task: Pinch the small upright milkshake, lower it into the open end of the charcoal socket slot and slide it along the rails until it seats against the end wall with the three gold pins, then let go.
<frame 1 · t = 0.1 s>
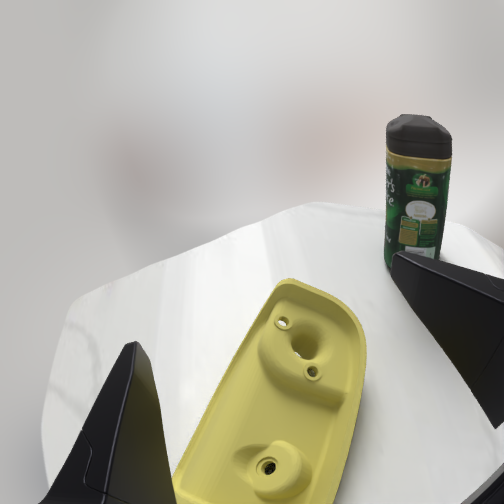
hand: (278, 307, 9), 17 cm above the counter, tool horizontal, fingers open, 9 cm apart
plastic component: (284, 424, 21), on the counter
coffee jar: (409, 257, 36), on the counter
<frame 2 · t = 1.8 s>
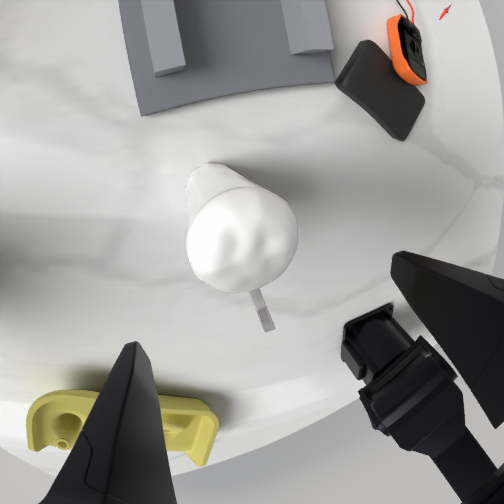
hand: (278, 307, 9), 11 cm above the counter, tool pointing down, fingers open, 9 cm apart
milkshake: (211, 192, 19), on the counter
header socket: (223, 6, 13), on the counter
plastic component: (121, 404, 27), on the counter
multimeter: (392, 25, 16), on the counter
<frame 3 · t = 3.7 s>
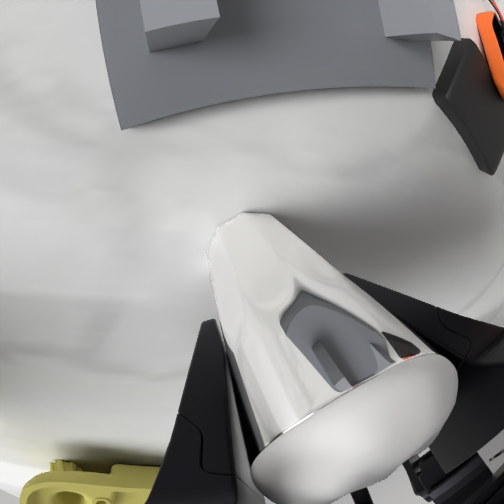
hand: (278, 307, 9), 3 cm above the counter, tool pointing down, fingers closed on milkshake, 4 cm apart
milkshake: (248, 257, 12), on the counter, touching gripper
plastic component: (127, 471, 19), on the counter
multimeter: (476, 21, 9), on the counter
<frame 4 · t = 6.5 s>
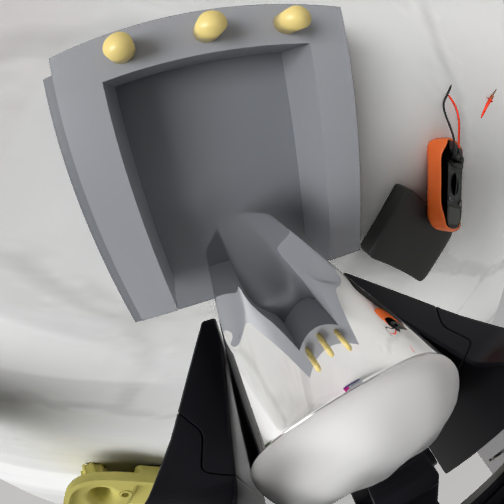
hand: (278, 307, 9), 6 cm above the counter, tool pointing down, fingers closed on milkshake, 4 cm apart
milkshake: (248, 256, 12), point 3 cm above the counter, touching gripper
header socket: (218, 166, 12), on the counter
plastic component: (141, 470, 26), on the counter
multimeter: (432, 140, 16), on the counter
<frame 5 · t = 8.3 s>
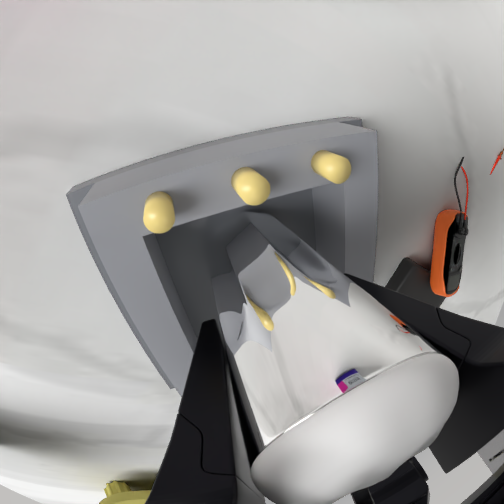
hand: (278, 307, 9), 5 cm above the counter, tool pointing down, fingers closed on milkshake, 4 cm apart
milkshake: (248, 256, 12), point 2 cm above the counter, touching gripper
header socket: (244, 266, 14), on the counter
plastic component: (160, 485, 27), on the counter
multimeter: (440, 208, 17), on the counter
when the fingers open (5 cm above the counter, at t = 8.9 s): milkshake stays where it is, resting on header socket.
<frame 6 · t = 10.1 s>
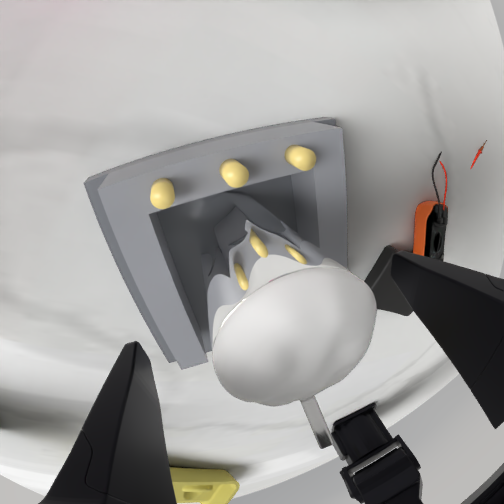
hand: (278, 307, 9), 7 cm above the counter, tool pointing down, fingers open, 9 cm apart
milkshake: (231, 229, 14), point 1 cm above the counter, touching header socket
header socket: (235, 248, 16), on the counter
plastic component: (161, 471, 29), on the counter
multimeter: (421, 200, 20), on the counter
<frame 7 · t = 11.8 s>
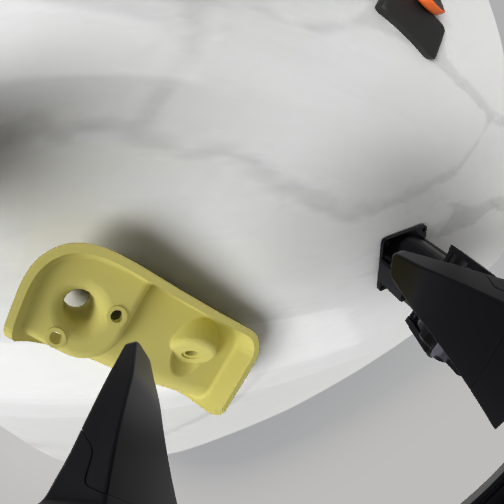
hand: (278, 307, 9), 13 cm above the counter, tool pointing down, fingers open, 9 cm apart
plastic component: (141, 312, 24), on the counter
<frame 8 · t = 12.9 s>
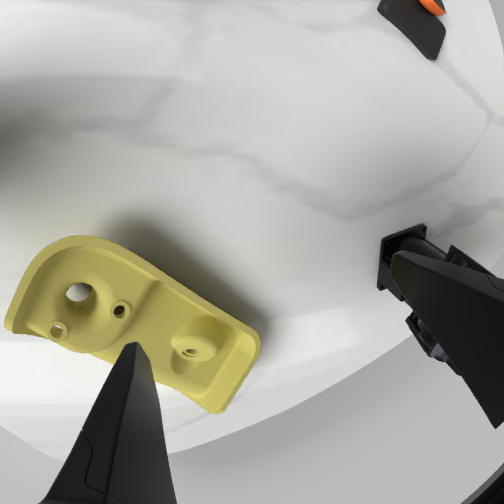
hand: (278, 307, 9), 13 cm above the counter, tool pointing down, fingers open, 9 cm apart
plastic component: (143, 309, 23), on the counter
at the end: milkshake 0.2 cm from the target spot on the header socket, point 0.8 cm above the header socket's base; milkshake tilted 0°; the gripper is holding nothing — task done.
